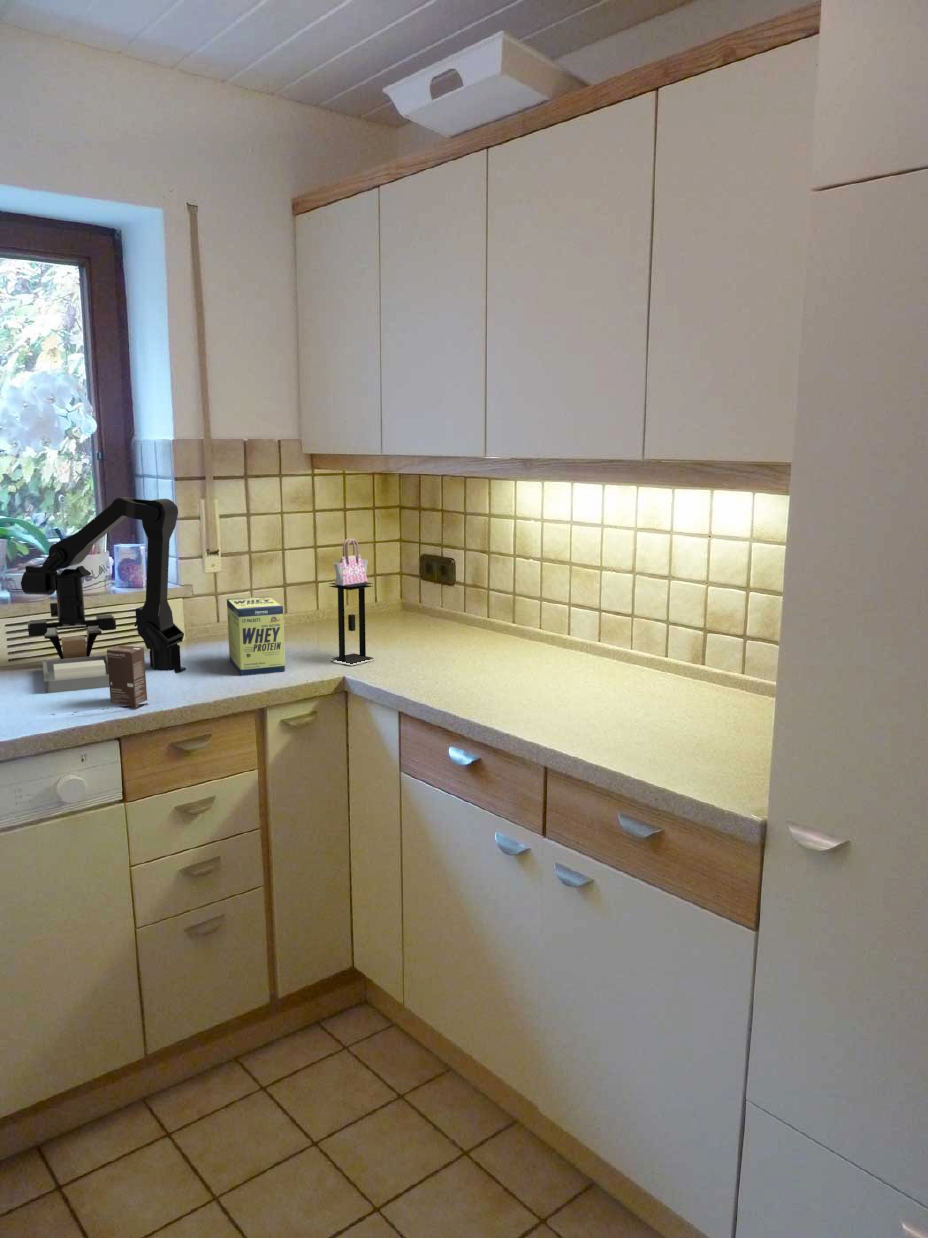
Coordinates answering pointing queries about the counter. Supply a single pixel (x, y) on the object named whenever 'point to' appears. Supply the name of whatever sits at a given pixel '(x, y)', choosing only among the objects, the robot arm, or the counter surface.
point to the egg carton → (79, 669)
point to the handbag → (351, 578)
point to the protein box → (256, 635)
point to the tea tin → (74, 647)
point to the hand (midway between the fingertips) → (75, 661)
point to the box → (127, 676)
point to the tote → (74, 683)
